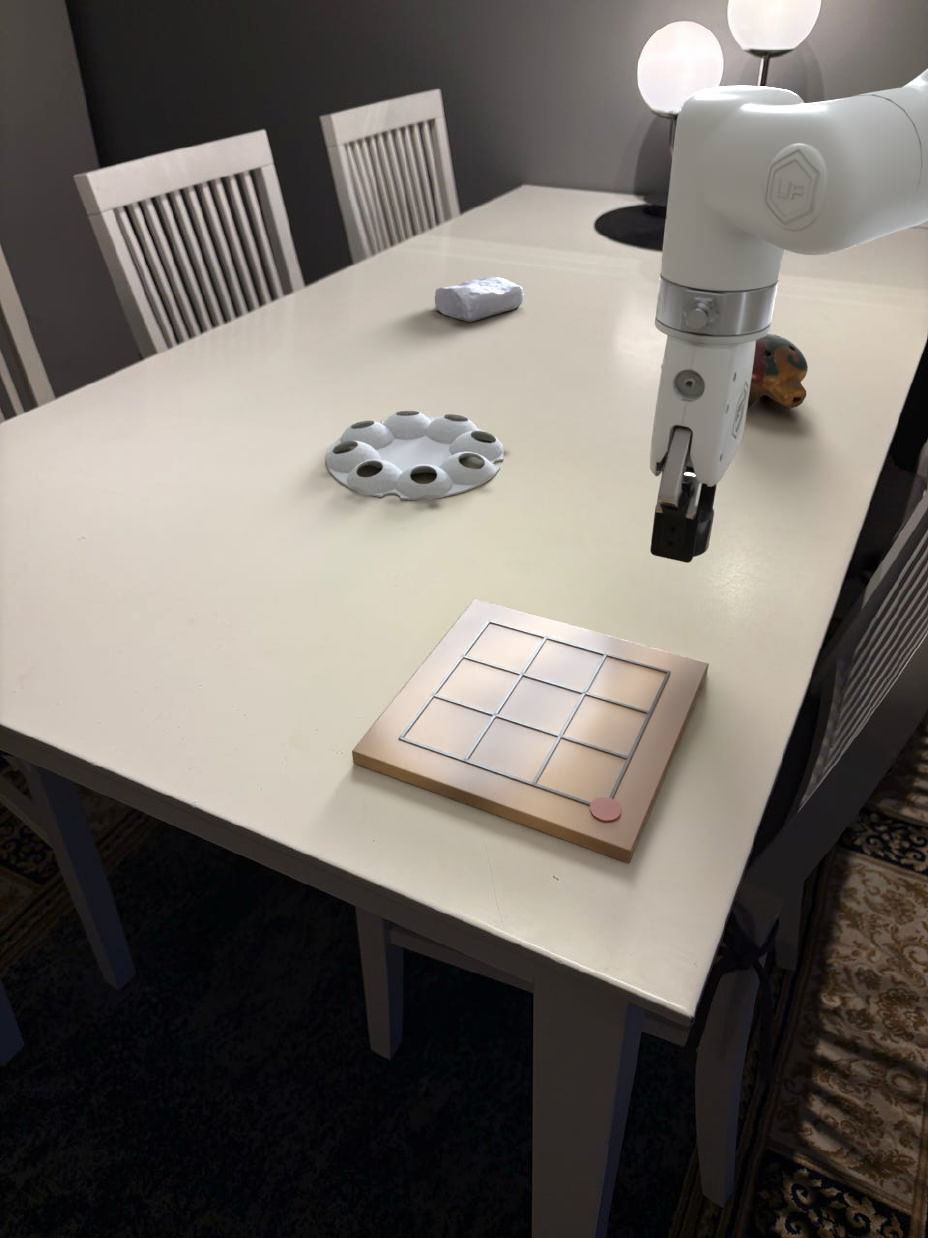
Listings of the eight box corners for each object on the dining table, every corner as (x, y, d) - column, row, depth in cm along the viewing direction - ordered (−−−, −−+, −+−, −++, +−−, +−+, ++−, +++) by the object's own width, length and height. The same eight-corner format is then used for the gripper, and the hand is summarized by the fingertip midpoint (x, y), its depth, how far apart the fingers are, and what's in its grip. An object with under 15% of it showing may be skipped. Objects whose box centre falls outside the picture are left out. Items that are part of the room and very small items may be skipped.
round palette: (329, 507, 92) (327, 489, 90) (323, 424, 107) (322, 408, 106) (519, 492, 94) (520, 474, 93) (487, 413, 109) (487, 397, 108)
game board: (706, 674, 71) (709, 661, 70) (629, 864, 56) (631, 850, 56) (474, 609, 78) (474, 596, 77) (352, 763, 63) (351, 749, 63)
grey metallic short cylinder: (714, 535, 72) (720, 502, 70) (700, 563, 69) (706, 528, 67) (660, 524, 73) (664, 491, 72) (644, 550, 70) (648, 516, 68)
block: (429, 320, 141) (471, 323, 134) (425, 287, 139) (467, 289, 131) (486, 306, 147) (529, 308, 140) (483, 275, 145) (526, 275, 138)
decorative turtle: (748, 369, 120) (765, 309, 115) (825, 421, 110) (847, 358, 104) (687, 377, 117) (701, 316, 112) (760, 432, 106) (780, 367, 101)
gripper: (745, 353, 53) (701, 610, 63) (794, 276, 65) (751, 502, 76) (620, 336, 55) (599, 585, 66) (690, 265, 68) (662, 485, 78)
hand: (680, 538), depth 71 cm, fingers closed on grey metallic short cylinder, 4 cm apart
